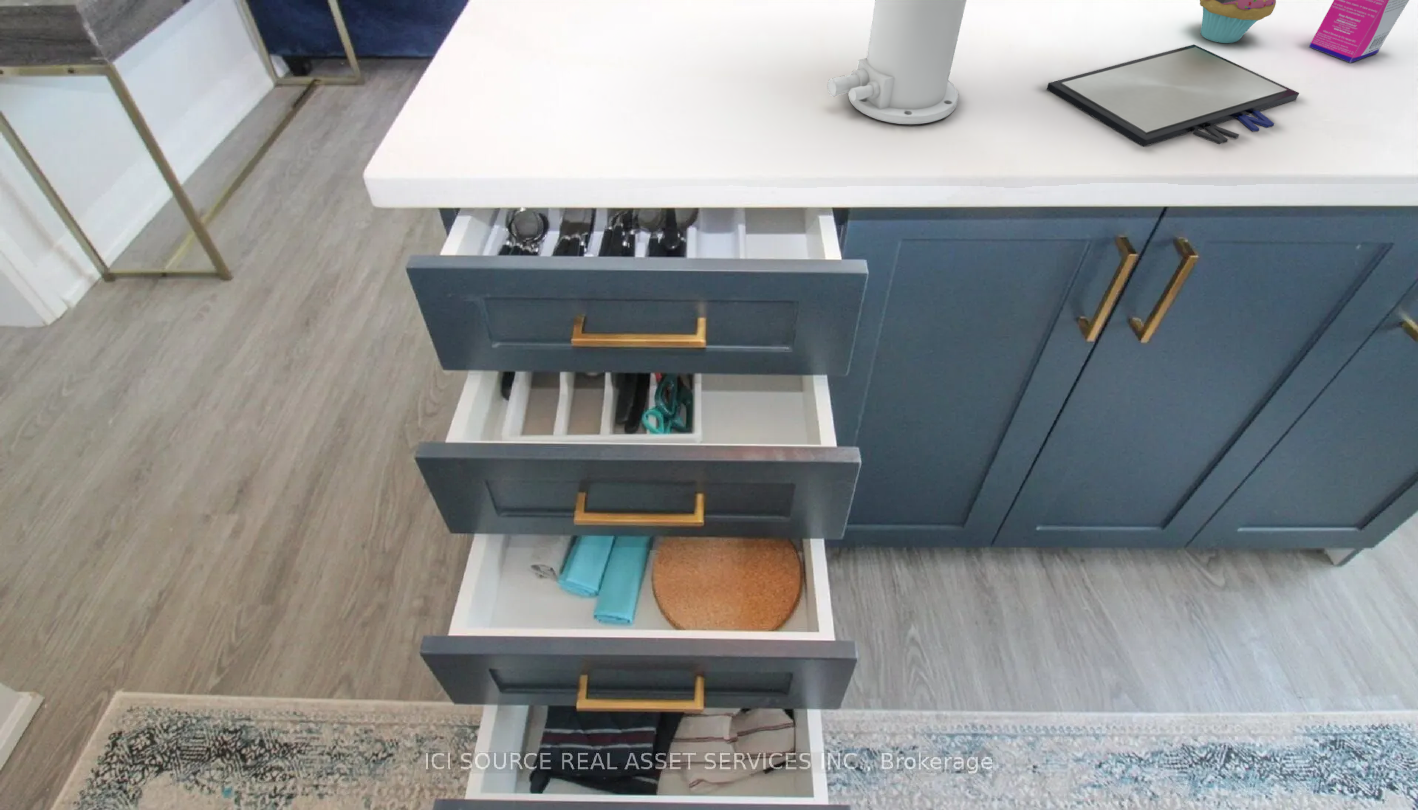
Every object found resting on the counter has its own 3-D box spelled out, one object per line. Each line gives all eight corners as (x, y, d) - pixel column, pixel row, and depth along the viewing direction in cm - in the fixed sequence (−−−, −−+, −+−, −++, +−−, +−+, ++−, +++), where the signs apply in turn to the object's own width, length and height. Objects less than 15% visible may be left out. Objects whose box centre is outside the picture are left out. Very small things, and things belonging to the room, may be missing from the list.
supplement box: (1333, 37, 99) (1390, -61, 91) (1378, 53, 96) (1442, -47, 87) (1305, 46, 97) (1361, -53, 89) (1350, 64, 94) (1413, -38, 85)
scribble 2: (1254, 132, 83) (1255, 129, 83) (1230, 120, 85) (1231, 117, 85) (1279, 124, 84) (1280, 121, 84) (1255, 112, 86) (1257, 109, 86)
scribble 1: (1214, 146, 81) (1215, 143, 81) (1191, 133, 83) (1192, 130, 83) (1239, 137, 82) (1240, 135, 82) (1216, 125, 84) (1217, 122, 84)
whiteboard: (1143, 147, 81) (1147, 138, 80) (1046, 89, 90) (1048, 81, 90) (1295, 99, 88) (1300, 91, 87) (1191, 50, 97) (1194, 42, 96)
